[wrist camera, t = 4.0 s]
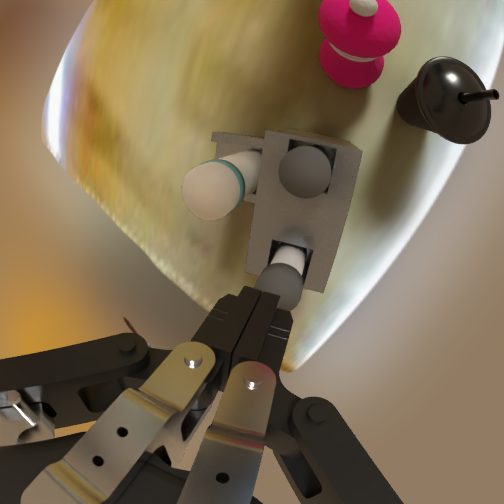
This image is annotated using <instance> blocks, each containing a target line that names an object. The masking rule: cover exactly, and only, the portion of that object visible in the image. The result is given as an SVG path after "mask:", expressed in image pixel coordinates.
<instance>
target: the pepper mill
mask: <svg viewBox="0 0 504 504" xmlns="http://www.w3.org/2000/svg"><path fill="white" fill-rule="evenodd" d="M318 21H319V25H320V28H321V30H322V32H323V34H324V36H325V37H326V38H325V39H324V41H323V42H322V44H321V47H320V53H319V58H320V63H321V66H322V68H323V70H324V71H325V72H326V74H327V75H328V76H329V77H330V78H331V79H332V80H333V81H334V82H335V83H337V84H338V85H340V86H342V87H345V88H350V89H357V88H361V87H366V86H369V85H371V84H372V83H374V82H375V81H376V80H377V79H378V78H379V77H380V75H381V73H382V70H383V67H384V58H383V55H385V54H387V53H389V52H390V51H391V50H392V49H393V48H395V46H396V45H397V43H398V41H399V38H400V35H401V24H400V20H399V17H398V14H397V13H396V11H395V10H394V8H393V7H392V6H391V5H390V3H389V2H388V1H387V0H323V2H322V3H321V5H320V8H319V13H318Z"/></svg>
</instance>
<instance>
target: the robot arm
mask: <svg viewBox="0 0 504 504" xmlns="http://www.w3.org/2000/svg"><path fill="white" fill-rule="evenodd" d="M280 299H281V296H280V295H276V294H273V293H269V292H266V291H263V292H262V290H258V289H255V288H251V287H248V286H244V287H243V289H242V290H241V292H240V294H239V295H238V297H237V296H234V295H231V294H228V295H226V296H224V297H222V298H221V299H219V300H218V302H217V303H216V304H215V306H214V307H213V309H212V310H211V312H210V313H209V316H207V318H206V319H205V321H204V322H203V324H202V325H201V327H200V328H199V329H198V331H197V332H196V334H195V335H194V337H193V338H192V339H191V341H190V342H185V343H182V344H180V345H178V346H177V347H176V348H174V350H162V349H155V348H148V345H147V342H146V341H145V339H144V338H143V337H141V336H140V335H138V334H135V333H121V334H118V335H113V336H109V337H105V338H101V339H97V340H93V341H88V342H84V343H80V344H75V345H71V346H66V347H62V348H57V349H52V350H48V351H43V352H38V353H33V354H28V355H22V356H17V357H12V358H6V359H0V504H263V503H261V502H260V501H259V500H258V499H257V498H255V497H254V496H252V494H253V491H254V487H255V483H256V479H257V475H258V471H259V467H260V463H261V459H262V455H263V451H264V446H265V445H266V446H267V447H269V448H271V449H272V450H273V453H274V455H275V457H276V459H277V461H278V463H279V465H280V467H281V469H282V471H283V472H284V474H285V476H286V478H287V480H288V482H289V483H290V485H291V487H292V489H293V490H294V492H295V494H296V496H297V497H298V499H299V501H300V502H301V504H404V503H403V502H402V501H401V499H400V498H399V497H398V495H397V494H396V493H395V491H394V490H393V488H392V487H391V486H390V484H389V483H388V481H387V480H386V479H385V477H384V476H383V475H382V473H381V472H380V470H379V469H378V468H377V466H376V465H375V464H374V462H373V461H372V459H371V458H370V456H369V455H368V454H367V452H366V451H365V449H364V448H363V446H362V445H361V444H360V442H359V441H358V439H357V438H356V436H355V435H354V434H353V432H352V431H351V429H350V428H349V426H348V425H347V424H346V422H345V421H344V419H343V418H342V416H341V415H340V413H339V412H338V410H337V409H336V408H335V406H334V405H333V404H332V403H331V402H329V401H328V400H326V399H323V398H320V397H307V398H304V399H301V398H299V397H298V396H296V395H294V394H293V393H291V392H290V391H288V390H287V389H286V388H285V387H284V386H283V384H282V383H281V381H280V377H279V370H280V366H281V363H282V360H283V356H284V353H285V349H286V346H287V342H288V338H289V335H290V331H291V327H292V324H293V319H292V316H291V313H290V311H286V310H283V309H279V308H278V307H279V303H280ZM218 390H219V391H222V392H223V395H222V398H221V400H220V403H219V406H218V408H217V411H216V414H215V417H214V419H213V421H212V424H211V425H210V426H209V427H208V428H207V430H206V433H205V435H204V437H203V440H202V442H201V445H200V448H199V450H198V453H197V455H196V458H195V460H194V463H193V465H192V468H191V470H190V471H186V470H180V469H176V468H177V466H178V465H179V463H180V462H181V460H182V458H183V456H184V453H185V450H186V447H187V445H188V443H189V442H190V440H191V439H192V437H193V435H194V434H195V432H196V431H197V429H198V428H199V426H200V424H201V423H202V421H203V420H204V418H205V416H206V415H207V413H208V412H209V410H210V408H211V406H212V402H213V401H214V399H215V397H216V394H217V392H218ZM95 420H97V421H96V422H95V423H94V424H93V425H92V427H91V428H90V429H89V430H88V431H87V432H80V433H75V434H71V435H67V436H63V437H58V438H54V437H55V433H54V429H57V428H62V427H68V426H73V425H77V424H82V423H87V422H91V421H95Z"/></svg>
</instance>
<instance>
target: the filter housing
mask: <svg viewBox="0 0 504 504" xmlns="http://www.w3.org/2000/svg"><path fill="white" fill-rule="evenodd" d="M211 141H214V142H217V149H216V158H215V159H219V158H223V157H226V156H229V155H232V154H236V153H239V152H242V151H246V150H249V149H256V150H260V151H262V157H261V164H260V171H259V178H258V185H257V189H256V190H255V191H254V192H253V193H252V194H250V195H249V196H248V197H247V198H246V199H244V200H243V201H246V202H250V203H255V206H254V213H253V220H252V227H251V234H250V241H249V248H248V255H247V262H246V269H245V272H246V273H250V274H254V275H257V276H260V275H261V273H262V271H263V270H264V268H266V267H267V266H268V265H270V264H271V262H272V260H273V258H274V256H275V253H276V251H277V249H278V247H279V245H280V244H281V243H282V242H285V243H289V244H293V245H297V246H300V247H304V248H306V249H307V257H306V261H305V265H304V269H303V273H302V278H303V288H305V289H309V290H313V291H317V292H321V293H324V290H325V287H326V284H327V281H328V278H329V275H330V272H331V268H332V265H333V262H334V259H335V256H336V252H337V249H338V246H339V242H340V239H341V236H342V232H343V229H344V225H345V222H346V218H347V214H348V211H349V207H350V203H351V199H352V195H353V191H354V187H355V183H356V179H357V175H358V170H359V166H360V162H361V157H362V152H363V151H362V150H360V149H359V148H358V147H356V146H355V145H354V144H352V143H351V142H350V141H346V140H342V139H338V138H334V137H330V136H326V135H321V134H317V133H312V132H307V131H302V130H297V129H284V130H265V137H264V138H262V137H256V136H249V135H242V134H234V133H226V132H212V138H211ZM311 145H313V146H318V147H320V148H321V149H323V150H324V151H325V153H326V154H327V157H328V159H329V162H330V165H331V179H330V183H329V185H328V187H327V188H326V189H325V191H324V192H323V193H321V194H320V195H318V196H316V197H313V198H307V199H305V198H299V197H296V196H293V195H292V194H290V193H289V192H288V191H287V190H286V189H285V188H284V187H283V185H282V184H281V182H280V179H279V173H278V170H279V164H280V162H281V160H282V158H283V157H284V155H285V154H286V153H288V152H289V151H291V150H292V149H294V148H296V147H299V146H311Z"/></svg>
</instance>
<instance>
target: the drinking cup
mask: <svg viewBox="0 0 504 504" xmlns="http://www.w3.org/2000/svg"><path fill="white" fill-rule="evenodd" d="M497 99H499V93H498V91H497V90H495V89H491V90H486V88H485V86H484V84H483V83H482V81H481V79H480V78H479V77H478V75H477V74H476V73H475V72H474V71H473V70H472V69H471V68H470V67H469V66H467V65H466V64H464V63H463V62H461V61H459V60H457V59H454V58H451V57H436V58H433V59H430V60H429V61H427V62H426V63H425V64H424V65H423V66H422V67H421V69H420V70H419V72H418V75H417V77H416V78H415V79H414V80H413V81H412V82H411V83H410V84H409V86H408V87H407V88H406V89H405V90H404V91H403V92H402V93H401V94H400V95H399V97H398V100H397V109H398V112H399V114H400V116H401V117H402V119H403V120H404V121H406V122H407V123H409V124H411V125H414V126H417V127H420V128H423V129H426V130H429V131H432V132H434V133H437V134H439V135H440V136H441V137H443V138H444V139H446V140H448V141H450V142H453V143H457V144H470V143H474V142H476V141H477V140H479V139H480V138H481V137H482V136H483V135H484V134H485V133H486V131H487V129H488V127H489V124H490V119H491V104H490V100H497Z"/></svg>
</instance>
